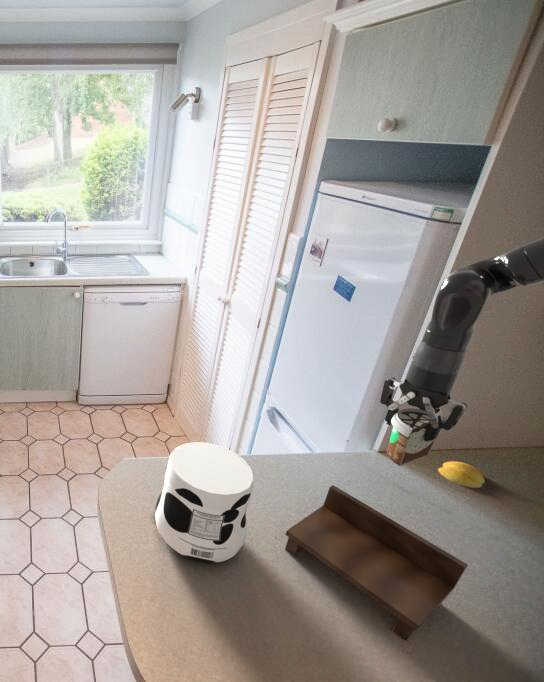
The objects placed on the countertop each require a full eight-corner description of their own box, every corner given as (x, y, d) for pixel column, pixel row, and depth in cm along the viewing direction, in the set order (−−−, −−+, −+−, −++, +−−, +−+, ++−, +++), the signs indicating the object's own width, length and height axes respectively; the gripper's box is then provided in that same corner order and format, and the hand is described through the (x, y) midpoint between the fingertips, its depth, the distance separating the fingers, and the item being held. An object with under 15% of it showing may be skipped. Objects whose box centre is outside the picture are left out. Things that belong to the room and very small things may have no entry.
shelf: (445, 604, 80) (468, 564, 76) (408, 645, 73) (430, 605, 69) (319, 520, 97) (332, 484, 93) (280, 548, 90) (292, 511, 86)
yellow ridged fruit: (430, 478, 109) (436, 465, 107) (444, 465, 113) (450, 452, 112) (474, 499, 103) (481, 486, 101) (487, 484, 107) (494, 471, 105)
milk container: (199, 495, 104) (213, 430, 96) (260, 554, 89) (282, 483, 82) (136, 517, 98) (145, 450, 90) (190, 584, 83) (206, 511, 76)
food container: (402, 438, 106) (417, 402, 102) (432, 454, 101) (448, 416, 97) (366, 451, 102) (380, 413, 98) (395, 467, 97) (411, 429, 93)
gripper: (488, 374, 89) (456, 443, 95) (403, 347, 100) (380, 411, 107) (472, 384, 85) (440, 455, 92) (386, 355, 96) (363, 420, 103)
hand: (408, 431), depth 99 cm, fingers closed on food container, 6 cm apart
